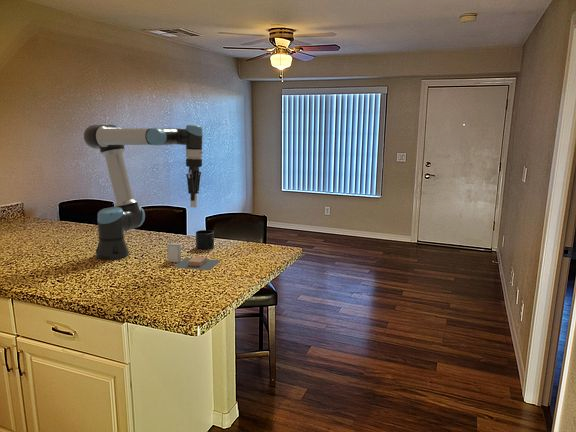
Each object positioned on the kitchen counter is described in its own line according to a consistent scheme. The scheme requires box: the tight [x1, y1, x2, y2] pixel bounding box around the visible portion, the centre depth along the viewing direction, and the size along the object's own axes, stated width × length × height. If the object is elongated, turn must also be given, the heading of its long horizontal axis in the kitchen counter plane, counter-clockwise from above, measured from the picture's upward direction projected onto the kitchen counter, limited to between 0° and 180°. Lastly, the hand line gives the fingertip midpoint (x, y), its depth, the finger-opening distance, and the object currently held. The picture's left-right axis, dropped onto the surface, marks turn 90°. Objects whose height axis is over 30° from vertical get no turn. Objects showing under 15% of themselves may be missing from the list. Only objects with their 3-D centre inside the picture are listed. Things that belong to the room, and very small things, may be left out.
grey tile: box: [166, 243, 182, 263], centre depth 213 cm, size 6×2×9 cm, turn 80°
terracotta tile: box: [188, 255, 208, 266], centre depth 211 cm, size 6×2×9 cm
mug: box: [195, 229, 215, 251], centre depth 238 cm, size 9×12×9 cm
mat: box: [172, 257, 222, 271], centre depth 211 cm, size 18×16×1 cm
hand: (193, 206), depth 218 cm, fingers closed
